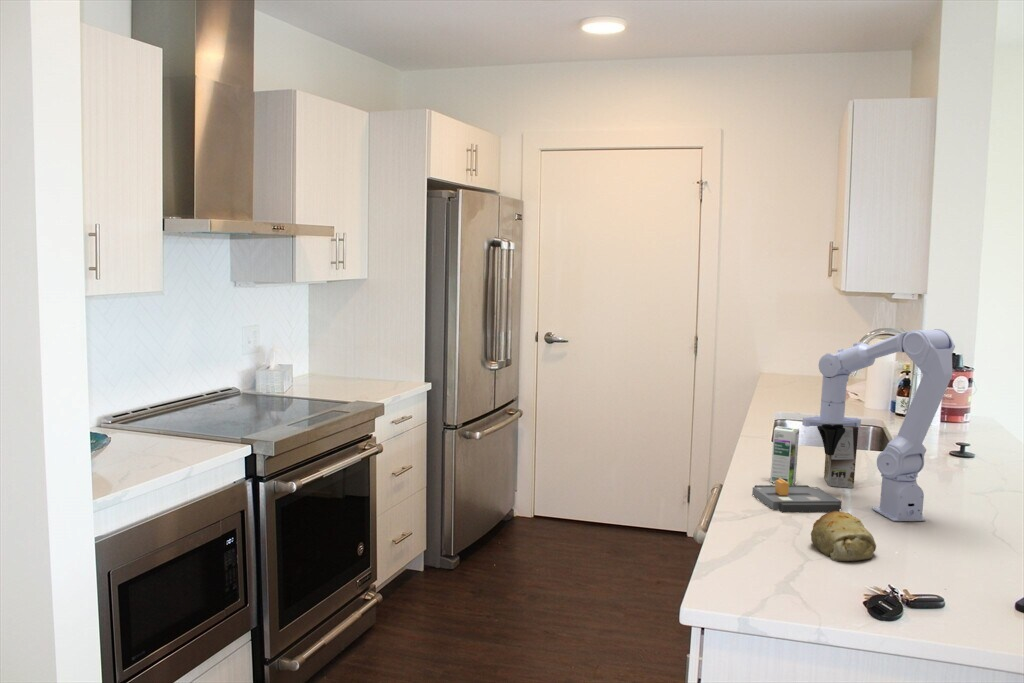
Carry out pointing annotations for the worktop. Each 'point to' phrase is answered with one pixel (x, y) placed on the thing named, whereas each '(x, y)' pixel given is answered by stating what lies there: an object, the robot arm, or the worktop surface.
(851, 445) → the coffee box
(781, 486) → the knob
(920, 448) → the robot arm
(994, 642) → the worktop surface
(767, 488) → the panel
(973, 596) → the worktop surface
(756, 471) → the worktop surface
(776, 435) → the syrup box
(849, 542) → the pastry
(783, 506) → the dark grey flat bars
